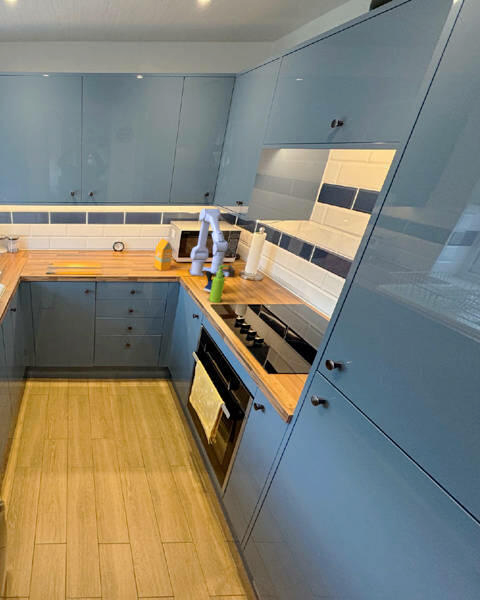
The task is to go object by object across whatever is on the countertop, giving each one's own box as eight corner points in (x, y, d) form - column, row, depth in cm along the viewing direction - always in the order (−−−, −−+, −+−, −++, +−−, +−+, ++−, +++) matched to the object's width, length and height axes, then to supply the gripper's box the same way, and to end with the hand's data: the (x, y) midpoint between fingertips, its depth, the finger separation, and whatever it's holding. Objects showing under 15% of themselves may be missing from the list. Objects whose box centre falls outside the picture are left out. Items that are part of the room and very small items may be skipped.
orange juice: (163, 265, 230) (166, 237, 221) (170, 269, 222) (173, 241, 214) (153, 266, 228) (156, 238, 219) (160, 270, 220) (163, 242, 212)
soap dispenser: (224, 301, 177) (231, 266, 168) (213, 303, 175) (220, 268, 166) (217, 297, 182) (224, 263, 173) (206, 298, 180) (213, 264, 172)
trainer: (211, 284, 194) (213, 278, 192) (219, 287, 191) (220, 280, 189) (203, 290, 187) (204, 283, 185) (211, 292, 184) (212, 285, 182)
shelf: (206, 270, 221) (207, 263, 219) (229, 271, 219) (230, 264, 217) (209, 275, 211) (210, 269, 209) (233, 277, 209) (235, 270, 207)
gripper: (201, 261, 185) (198, 283, 191) (227, 267, 176) (222, 290, 182) (207, 258, 190) (203, 280, 196) (232, 264, 181) (227, 286, 187)
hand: (213, 284), depth 189 cm, fingers closed on trainer, 4 cm apart
